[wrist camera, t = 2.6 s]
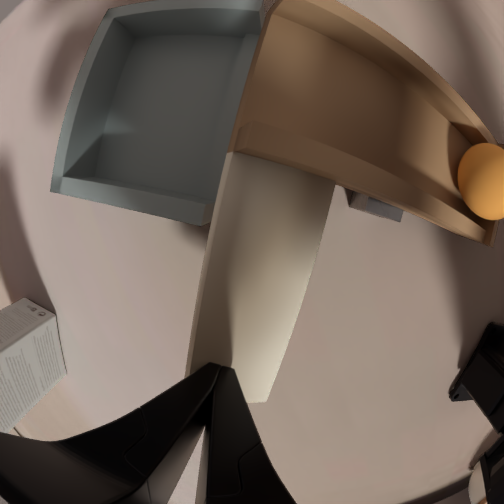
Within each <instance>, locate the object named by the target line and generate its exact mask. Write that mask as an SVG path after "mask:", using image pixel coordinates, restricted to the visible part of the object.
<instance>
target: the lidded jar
mask: <svg viewBox="0 0 504 504" xmlns="http://www.w3.org/2000/svg"><path fill="white" fill-rule="evenodd" d="M473 469H474V471H473V473H472V475H471V478H470V482H469V496H470V500H471V503H472V504H487V501H486V494H485V487H484V481H483V475H482V470H481V465H480V461H478V462H477V464H476V465H475V466H474V468H473Z"/></svg>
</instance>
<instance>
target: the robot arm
mask: <svg viewBox="0 0 504 504" xmlns="http://www.w3.org/2000/svg"><path fill="white" fill-rule="evenodd" d="M449 398H450V399H451V401H453V402H454V401H466V400H474V401H475V403H476V404H477V406H478V407H479V408H480V410H481V411H482V412H483V414H484V415H485V416H486V417H487V419H488V420H489V422H490V423H491V425H492V426H493V428H494V429H495V430H496V432H497V433H498V435H499V436H500V437H499V439H498V440H497V441H496V442H495V443H494V444H493V445H492V446H491V447H490V449H489V450H488V451H487V452H485V453H484V454H483V455H482V456H481V457H480V458H479V461H480V465H481V470H482V475H483V481H484V487H485V494H486V501H487V504H504V324H500V323H496V322H492V323H490V324H489V325H488V327H487V329H486V331H485V333H484V335H483V337H482V339H481V341H480V343H479V345H478V347H477V349H476V351H475V353H474V355H473V357H472V359H471V360H470V362H469V364H468V366H467V367H466V369H465V371H464V373H463V374H462V376H461V378H460V379H459V381H458V382H457V384H456V386H455V387H454V389H453V390H452V392H451V393H450V395H449ZM204 427H205V430H204V437H203V444H202V452H201V460H200V467H199V475H198V483H197V491H196V500H195V504H297V503H296V502H295V500H294V499H293V498H292V496H291V495H290V493H289V492H288V490H287V489H286V487H285V486H284V484H283V482H282V481H281V479H280V478H279V476H278V474H277V473H276V471H275V469H274V467H273V466H272V463H271V461H270V459H269V457H268V455H267V453H266V450H265V448H264V445H263V444H262V441H261V438H260V436H259V433H258V431H257V428H256V426H255V423H254V421H253V418H252V415H251V413H250V410H249V407H248V405H247V402H246V399H245V397H244V394H243V391H242V388H241V386H240V383H239V380H238V377H237V374H236V372H235V369H234V368H231V367H227V366H221V365H220V364H216V363H213V362H208V363H207V364H205V365H204V366H202V367H201V368H199V369H198V370H196V371H195V372H193V373H192V374H191V375H189V376H187V377H186V378H184V379H183V380H181V381H180V382H178V383H177V384H175V385H174V386H172V387H171V388H169V389H168V390H166V391H164V392H163V393H161V394H160V395H158V396H156V397H155V398H153V399H152V400H150V401H148V402H147V403H145V404H144V405H142V406H140V408H137V409H135V410H133V411H132V412H130V413H128V414H126V415H124V416H123V417H121V418H119V419H117V420H115V421H112V422H110V423H108V424H105V425H103V426H101V427H98V428H95V429H93V430H90V431H87V432H84V433H82V434H79V435H76V436H73V437H70V438H67V439H63V440H59V441H40V440H34V439H29V438H24V437H20V436H15V435H11V434H7V433H3V432H0V504H167V503H168V501H169V499H170V497H171V495H172V493H173V491H174V489H175V487H176V485H177V483H178V481H179V479H180V477H181V475H182V473H183V471H184V469H185V467H186V465H187V463H188V461H189V459H190V457H191V455H192V453H193V451H194V448H195V446H196V444H197V442H198V440H199V438H200V436H201V434H202V432H203V429H204Z"/></svg>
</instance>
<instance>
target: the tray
mask: <svg viewBox="0 0 504 504" xmlns="http://www.w3.org/2000/svg"><path fill="white" fill-rule="evenodd" d="M264 21H265V10H264V1H263V0H155V1H147V2H141V3H135V4H130V5H125V6H120V7H115V8H111V9H108V11H107V12H106V14H105V16H104V18H103V20H102V22H101V24H100V26H99V27H98V29H97V31H96V34H95V36H94V38H93V40H92V42H91V44H90V46H89V49H88V51H87V53H86V56H85V58H84V60H83V63H82V65H81V68H80V71H79V73H78V76H77V79H76V81H75V84H74V87H73V90H72V93H71V96H70V100H69V103H68V106H67V110H66V113H65V117H64V121H63V124H62V128H61V133H60V137H59V141H58V146H57V151H56V156H55V162H54V168H53V174H52V181H51V189H50V192H54V193H58V194H63V195H67V196H72V197H76V198H81V199H85V200H90V201H94V202H99V203H103V204H108V205H112V206H116V207H121V208H125V209H129V210H134V211H138V212H142V213H147V214H151V215H155V216H159V217H164V218H168V219H172V220H176V221H181V222H185V223H189V224H193V225H197V226H203V225H205V224H207V223H209V222H211V221H212V216H213V211H214V207H215V202H216V197H217V193H218V188H219V184H220V180H221V175H222V171H223V167H224V163H225V158H226V154H227V150H228V146H229V142H230V138H231V134H232V130H233V126H234V123H235V119H236V115H237V111H238V108H239V104H240V100H241V97H242V93H243V89H244V86H245V82H246V79H247V75H248V72H249V69H250V65H251V62H252V58H253V55H254V52H255V49H256V45H257V42H258V39H259V36H260V33H261V30H262V27H263V24H264Z"/></svg>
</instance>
